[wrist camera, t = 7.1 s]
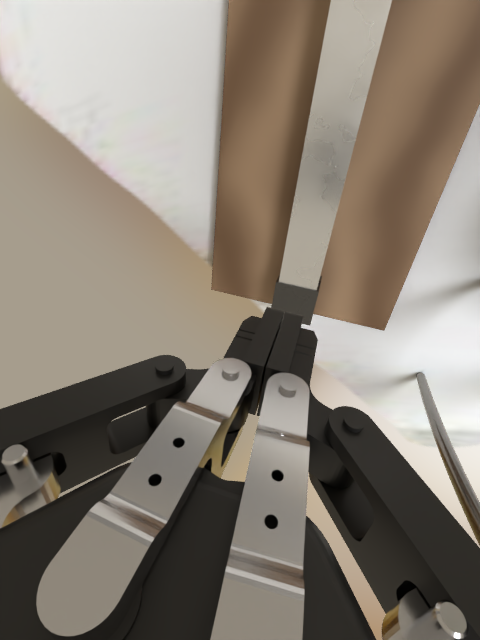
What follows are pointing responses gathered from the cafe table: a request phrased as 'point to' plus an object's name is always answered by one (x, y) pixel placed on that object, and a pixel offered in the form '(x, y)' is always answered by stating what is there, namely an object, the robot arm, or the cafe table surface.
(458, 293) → the cafe table surface
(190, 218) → the cafe table surface
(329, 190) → the tong arm
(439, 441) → the juicer
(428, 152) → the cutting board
